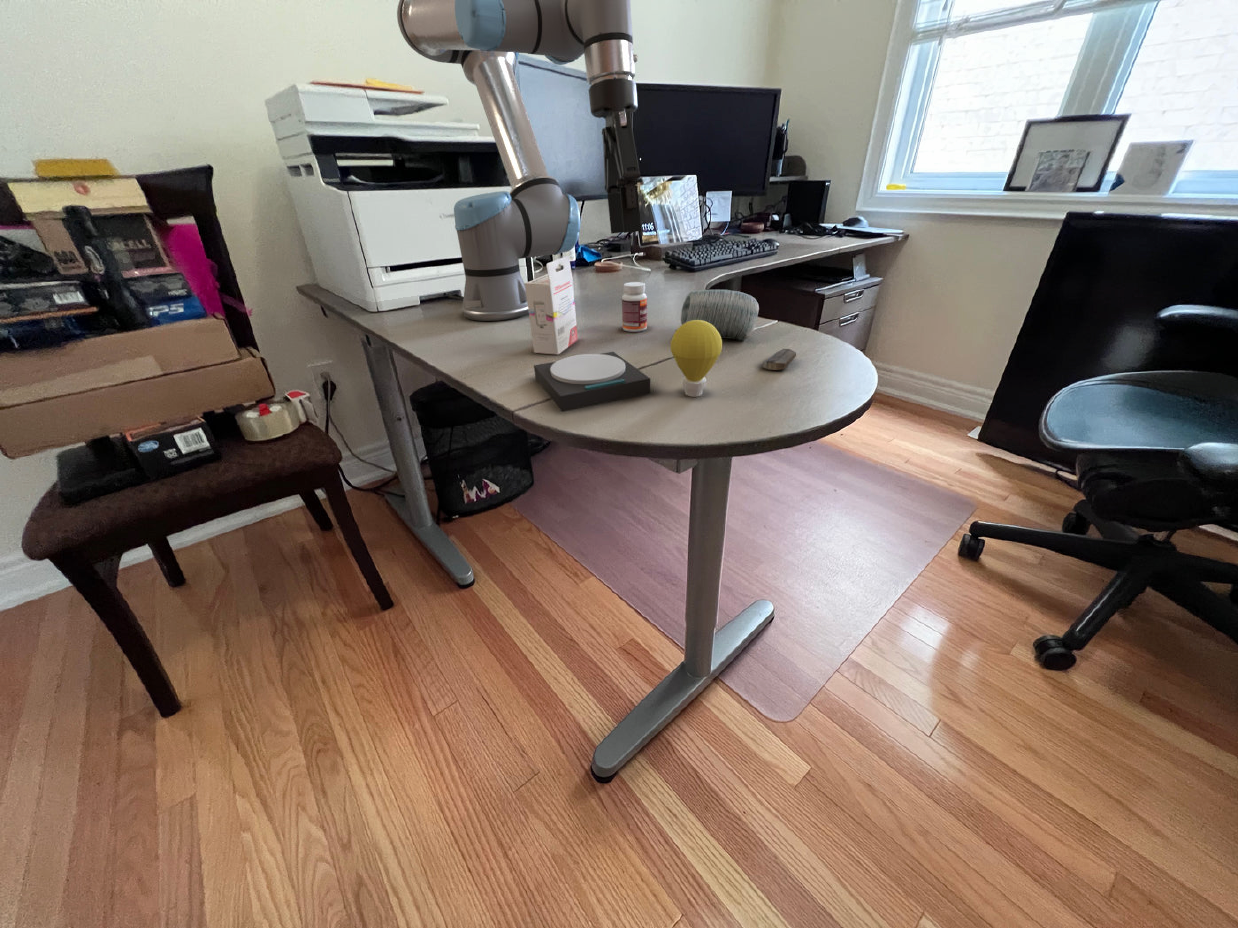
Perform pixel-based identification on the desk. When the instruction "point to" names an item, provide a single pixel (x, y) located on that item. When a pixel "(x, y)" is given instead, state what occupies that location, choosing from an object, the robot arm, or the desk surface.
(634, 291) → the pill bottle
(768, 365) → the block
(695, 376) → the light bulb
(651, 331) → the desk surface
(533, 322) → the ink cartridge box
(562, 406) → the scale
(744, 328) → the spool
